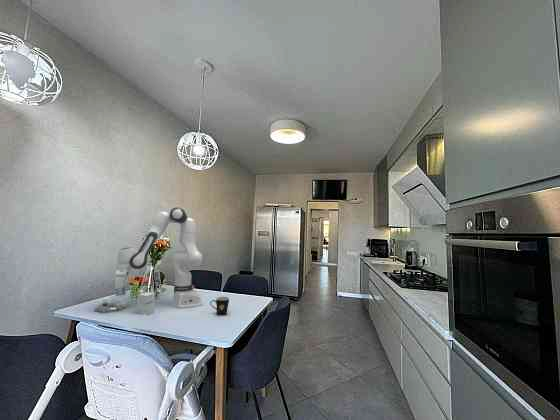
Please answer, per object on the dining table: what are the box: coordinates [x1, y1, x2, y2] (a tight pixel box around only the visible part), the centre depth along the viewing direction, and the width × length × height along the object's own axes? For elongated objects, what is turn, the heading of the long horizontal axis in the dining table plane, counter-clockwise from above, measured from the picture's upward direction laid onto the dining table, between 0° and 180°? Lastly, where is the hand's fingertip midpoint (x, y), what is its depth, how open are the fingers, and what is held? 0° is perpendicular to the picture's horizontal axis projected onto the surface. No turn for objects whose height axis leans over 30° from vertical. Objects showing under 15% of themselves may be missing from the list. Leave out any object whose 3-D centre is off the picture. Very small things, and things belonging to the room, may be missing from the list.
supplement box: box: [135, 291, 156, 316], centre depth 152 cm, size 7×7×13 cm
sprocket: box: [94, 299, 127, 314], centre depth 154 cm, size 15×17×5 cm
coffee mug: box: [209, 296, 230, 316], centre depth 159 cm, size 12×9×10 cm
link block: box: [115, 286, 127, 297], centre depth 159 cm, size 5×4×5 cm
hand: (121, 292), depth 159 cm, fingers closed on link block, 3 cm apart
